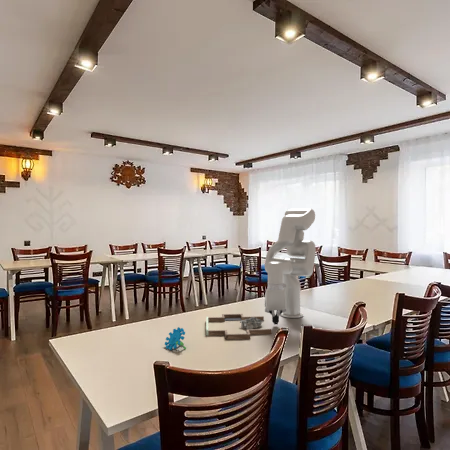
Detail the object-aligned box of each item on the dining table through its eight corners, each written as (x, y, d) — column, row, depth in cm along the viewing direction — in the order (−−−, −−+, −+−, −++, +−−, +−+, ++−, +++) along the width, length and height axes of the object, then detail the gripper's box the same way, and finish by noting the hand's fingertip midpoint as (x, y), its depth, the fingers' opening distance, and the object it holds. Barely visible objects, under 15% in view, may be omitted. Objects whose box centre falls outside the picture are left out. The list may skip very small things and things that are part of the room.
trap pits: (224, 318, 181) (224, 317, 181) (240, 318, 181) (240, 317, 181) (227, 338, 150) (227, 337, 150) (247, 337, 150) (247, 337, 150)
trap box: (208, 318, 181) (208, 314, 181) (261, 317, 183) (261, 313, 183) (208, 339, 148) (208, 335, 148) (273, 338, 150) (273, 333, 150)
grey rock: (249, 331, 160) (249, 322, 160) (238, 327, 166) (238, 319, 166) (264, 326, 167) (264, 318, 167) (253, 323, 173) (253, 315, 173)
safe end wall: (206, 321, 176) (206, 316, 176) (208, 321, 176) (208, 316, 176) (206, 335, 154) (206, 330, 154) (208, 335, 154) (208, 330, 154)
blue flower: (160, 341, 142) (176, 322, 145) (169, 348, 144) (184, 330, 147) (170, 353, 132) (188, 333, 135) (180, 361, 135) (196, 341, 138)
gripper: (288, 285, 170) (288, 321, 171) (259, 285, 170) (259, 321, 170) (292, 288, 163) (292, 325, 163) (261, 288, 162) (261, 326, 162)
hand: (275, 323), depth 166 cm, fingers closed
